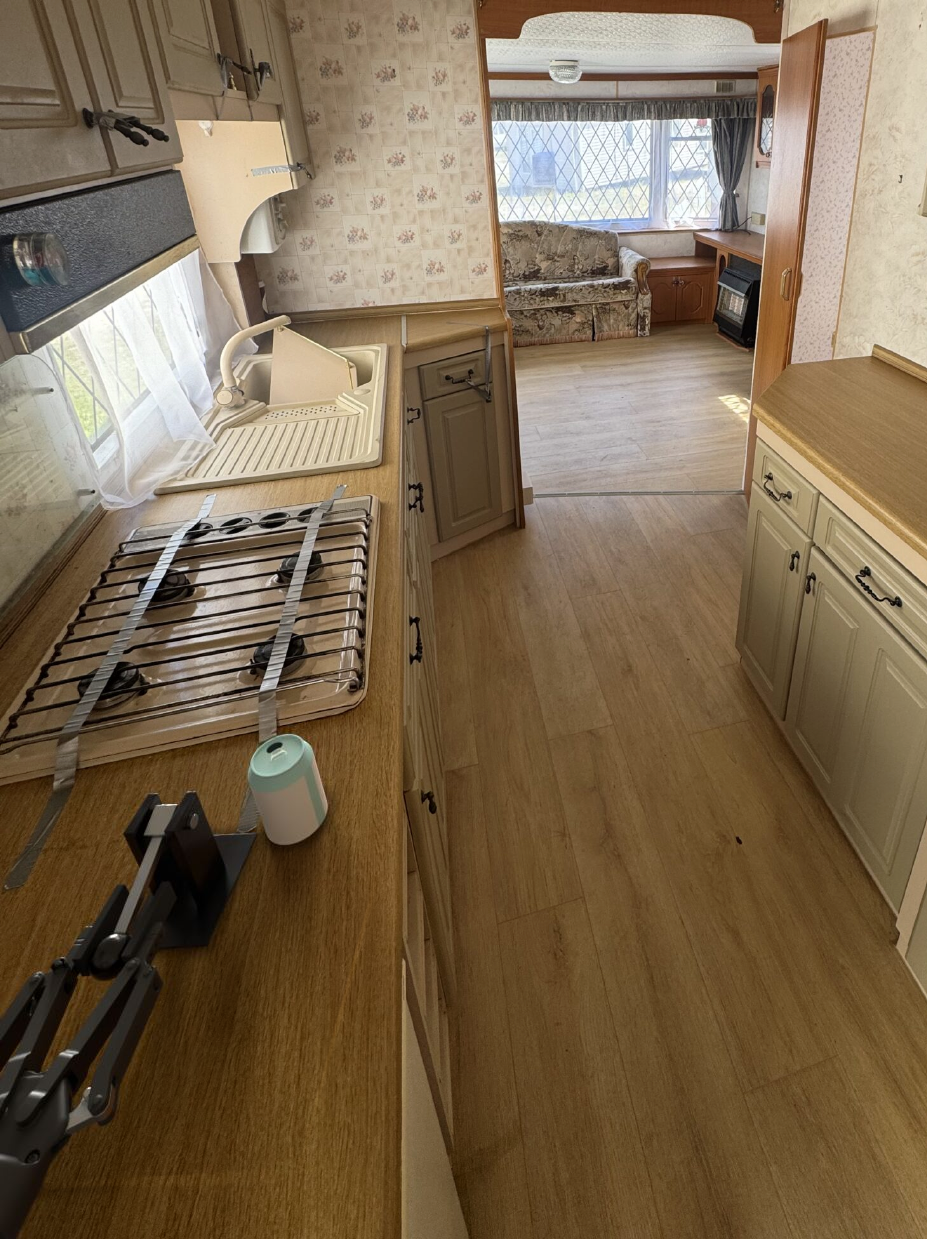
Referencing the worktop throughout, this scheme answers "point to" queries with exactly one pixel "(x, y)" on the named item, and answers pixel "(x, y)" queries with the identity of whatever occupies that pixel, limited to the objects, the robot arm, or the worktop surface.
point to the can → (287, 789)
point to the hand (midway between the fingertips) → (147, 891)
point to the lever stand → (190, 869)
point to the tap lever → (131, 901)
